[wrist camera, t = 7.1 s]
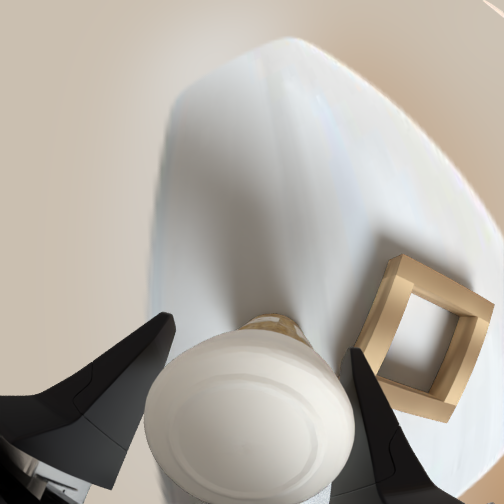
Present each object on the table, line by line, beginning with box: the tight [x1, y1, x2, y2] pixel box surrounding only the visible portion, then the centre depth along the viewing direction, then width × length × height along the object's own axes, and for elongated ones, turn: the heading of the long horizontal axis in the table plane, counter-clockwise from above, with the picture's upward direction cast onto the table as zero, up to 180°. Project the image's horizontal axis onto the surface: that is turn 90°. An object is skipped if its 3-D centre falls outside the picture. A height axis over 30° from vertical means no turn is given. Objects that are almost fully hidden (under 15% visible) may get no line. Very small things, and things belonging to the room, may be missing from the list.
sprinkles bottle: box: [144, 313, 355, 504], centre depth 11 cm, size 5×5×14 cm
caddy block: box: [338, 254, 495, 423], centre depth 15 cm, size 9×9×2 cm
